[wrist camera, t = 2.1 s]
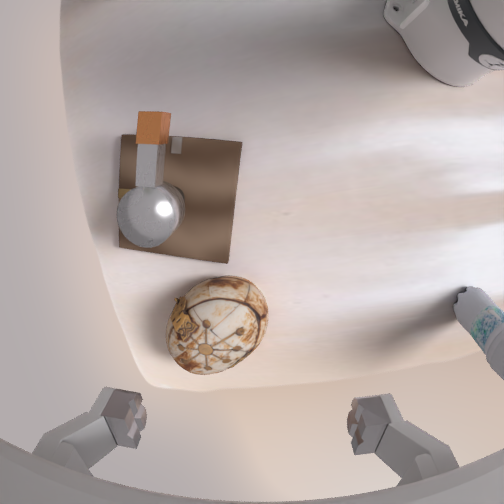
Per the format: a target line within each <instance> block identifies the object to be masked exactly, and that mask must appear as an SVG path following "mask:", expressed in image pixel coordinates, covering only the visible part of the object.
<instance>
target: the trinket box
mask: <svg viewBox="0 0 504 504" xmlns="http://www.w3.org/2000/svg"><path fill="white" fill-rule="evenodd" d="M175 301H176V302H177V303H176V305H175V307H174V309H173V311H172V313H171V315H170V318H169V320H168V324H167V328H166V343H167V347H168V350H169V352H170V354H171V355H172V357H173V358H174V360H175V361H176V363H177V364H178V365H179V366H181V367H182V368H183V369H185V370H187V371H189V372H191V373H194V374H201V375H206V374H214V373H218V372H222V371H224V370H226V369H229V368H232V367H234V366H235V365H236V364H237V363H239V362H241V361H242V360H243V359H245V358H246V357H247V356H248V355H250V354H251V353H252V352H253V351H254V350H255V349H256V348H257V346H258V345H259V344H260V342H261V341H262V339H263V337H264V334H265V332H266V328H267V324H268V307H267V303H266V300H265V298H264V296H263V294H262V293H261V291H260V290H259V289H258V288H257V287H256V286H255V285H254V284H253V283H252V282H250V281H249V280H247V279H245V278H242V277H237V276H223V277H219V278H213V279H209V280H206V281H203V282H201V283H199V284H198V285H196V286H195V287H193V288H192V289H191V290H190V291H189V292H188V293H187V294H186V295H185V296H184V297H179V299H178V298H175Z"/></svg>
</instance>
